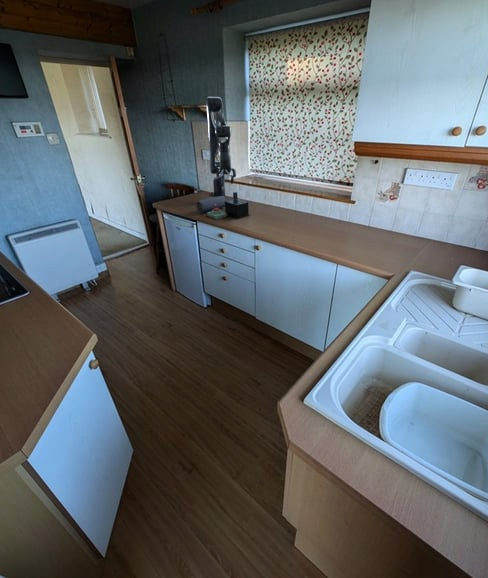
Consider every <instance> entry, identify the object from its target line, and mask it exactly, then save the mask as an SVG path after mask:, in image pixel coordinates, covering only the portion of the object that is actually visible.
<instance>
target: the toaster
mask: <svg viewBox="0 0 488 578" xmlns="http://www.w3.org/2000/svg"><path fill="white" fill-rule="evenodd" d="M224 211H225V212H224V213H227V217H231V218H233V219H236V220H238V219H242V218H246V217H249V216H250V213H249V201H246V200H242V199H239V198H238V199H236V200H234V199H233V198H232V199H229V200H226V201H225V207H224Z"/></svg>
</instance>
